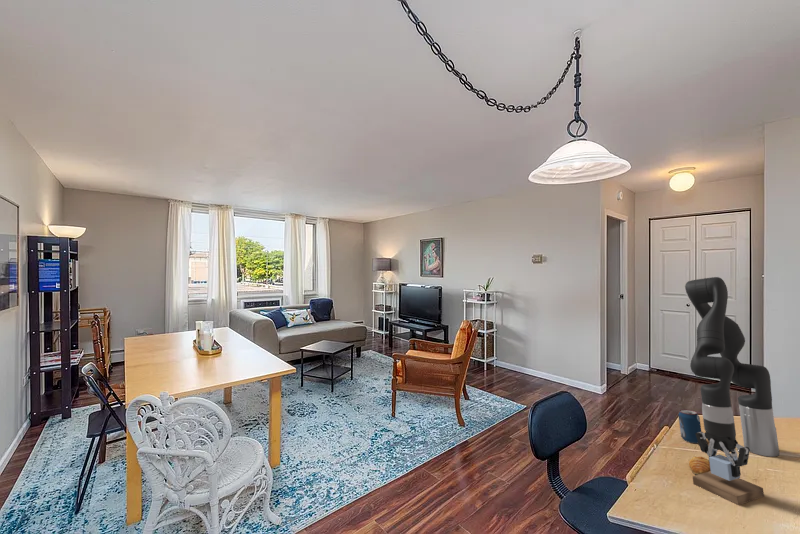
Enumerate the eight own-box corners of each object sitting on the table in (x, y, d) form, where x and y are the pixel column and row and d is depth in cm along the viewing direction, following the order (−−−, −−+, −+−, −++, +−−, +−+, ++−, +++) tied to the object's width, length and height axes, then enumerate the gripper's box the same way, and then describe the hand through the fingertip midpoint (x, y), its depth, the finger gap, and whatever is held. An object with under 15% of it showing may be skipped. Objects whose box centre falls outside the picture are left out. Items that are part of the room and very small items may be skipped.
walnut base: (718, 478, 115) (717, 469, 116) (764, 498, 104) (762, 487, 104) (693, 485, 112) (692, 476, 112) (738, 506, 100) (736, 496, 101)
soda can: (706, 441, 140) (702, 412, 141) (696, 445, 138) (693, 415, 139) (687, 435, 147) (683, 407, 148) (677, 439, 144) (674, 410, 145)
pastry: (713, 480, 114) (711, 469, 114) (687, 474, 118) (685, 462, 119) (714, 469, 120) (713, 458, 120) (690, 463, 125) (688, 453, 125)
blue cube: (721, 470, 111) (719, 454, 112) (740, 477, 107) (738, 461, 107) (710, 473, 110) (709, 457, 110) (729, 480, 105) (727, 464, 106)
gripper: (753, 424, 104) (761, 481, 103) (701, 409, 118) (707, 460, 116) (737, 428, 102) (744, 486, 100) (686, 412, 116) (692, 464, 114)
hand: (724, 472), depth 108 cm, fingers closed on blue cube, 5 cm apart
